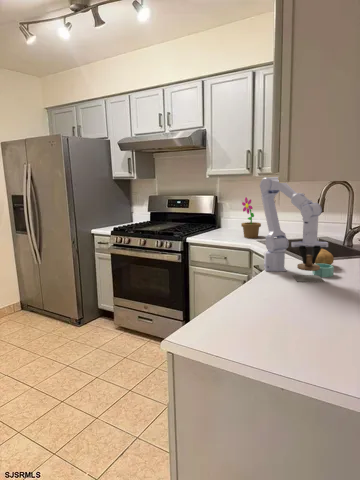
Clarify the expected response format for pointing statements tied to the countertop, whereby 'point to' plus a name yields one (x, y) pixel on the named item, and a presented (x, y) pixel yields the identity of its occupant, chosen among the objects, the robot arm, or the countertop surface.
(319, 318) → the countertop surface
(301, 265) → the lid
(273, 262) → the robot arm
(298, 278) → the mat
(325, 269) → the bowl
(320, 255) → the potato
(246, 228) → the flowerpot
